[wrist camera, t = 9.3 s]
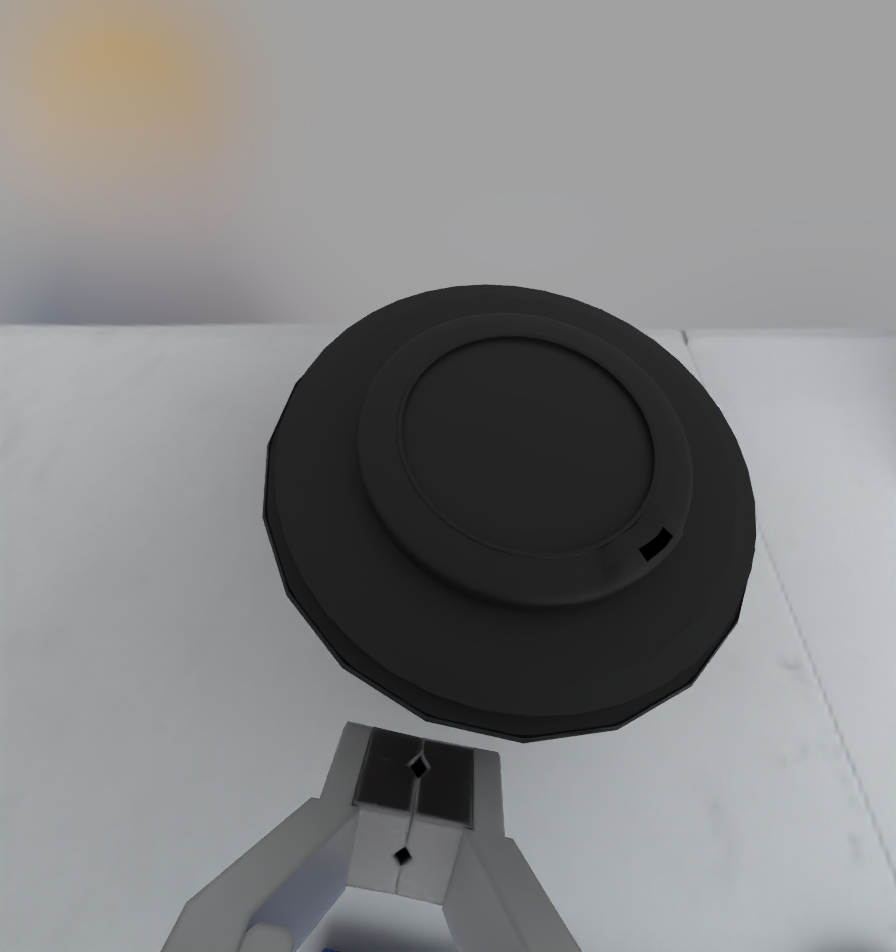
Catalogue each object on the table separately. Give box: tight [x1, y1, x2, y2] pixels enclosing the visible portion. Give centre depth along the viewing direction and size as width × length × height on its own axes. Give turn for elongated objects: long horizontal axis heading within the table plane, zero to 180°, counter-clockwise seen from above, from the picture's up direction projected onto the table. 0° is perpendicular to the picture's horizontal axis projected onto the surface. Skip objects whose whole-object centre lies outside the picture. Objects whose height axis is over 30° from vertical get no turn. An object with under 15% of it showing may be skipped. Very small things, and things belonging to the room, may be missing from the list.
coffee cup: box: [263, 285, 756, 743], centre depth 11 cm, size 8×8×10 cm
